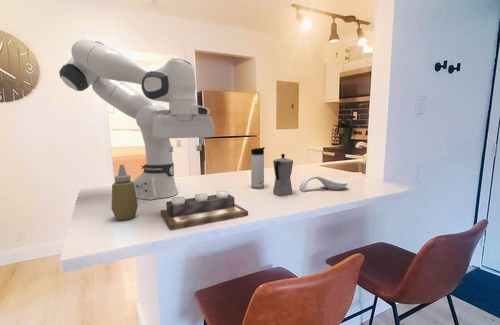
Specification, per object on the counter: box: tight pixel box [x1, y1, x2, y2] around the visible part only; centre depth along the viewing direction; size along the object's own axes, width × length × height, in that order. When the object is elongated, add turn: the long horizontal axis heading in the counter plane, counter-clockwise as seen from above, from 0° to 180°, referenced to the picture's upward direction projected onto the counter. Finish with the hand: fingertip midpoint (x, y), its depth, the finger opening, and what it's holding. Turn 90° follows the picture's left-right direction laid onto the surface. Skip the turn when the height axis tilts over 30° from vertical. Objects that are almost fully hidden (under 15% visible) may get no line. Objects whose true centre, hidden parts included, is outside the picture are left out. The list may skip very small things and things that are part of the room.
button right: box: [215, 190, 229, 199], centre depth 97 cm, size 4×4×3 cm
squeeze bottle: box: [111, 164, 139, 221], centre depth 88 cm, size 8×8×18 cm
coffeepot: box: [272, 153, 294, 197], centre depth 118 cm, size 15×9×18 cm, turn 153°
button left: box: [170, 196, 186, 206], centre depth 89 cm, size 4×4×3 cm
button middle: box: [194, 193, 209, 202], centre depth 93 cm, size 4×4×3 cm
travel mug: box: [250, 147, 266, 190], centre depth 130 cm, size 6×7×20 cm
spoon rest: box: [299, 174, 348, 193], centre depth 127 cm, size 24×12×7 cm, turn 107°
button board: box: [160, 193, 249, 231], centre depth 91 cm, size 26×16×5 cm, turn 119°
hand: (185, 151), depth 90 cm, fingers open, 8 cm apart
